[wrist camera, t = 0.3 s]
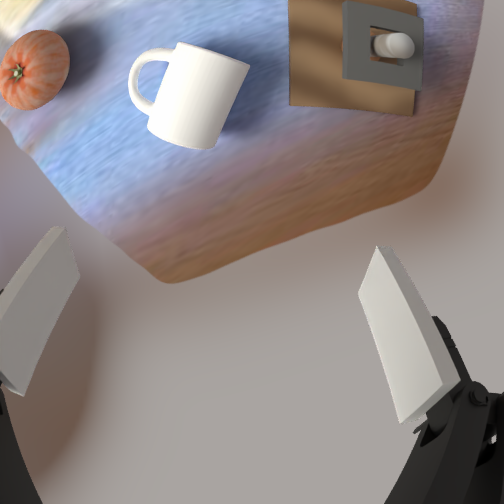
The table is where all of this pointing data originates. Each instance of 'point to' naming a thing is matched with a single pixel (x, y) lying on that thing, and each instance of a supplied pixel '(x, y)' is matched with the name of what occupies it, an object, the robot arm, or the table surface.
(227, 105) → the mug
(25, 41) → the pumpkin
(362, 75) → the ring
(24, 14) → the table surface
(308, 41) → the peg stacking board
